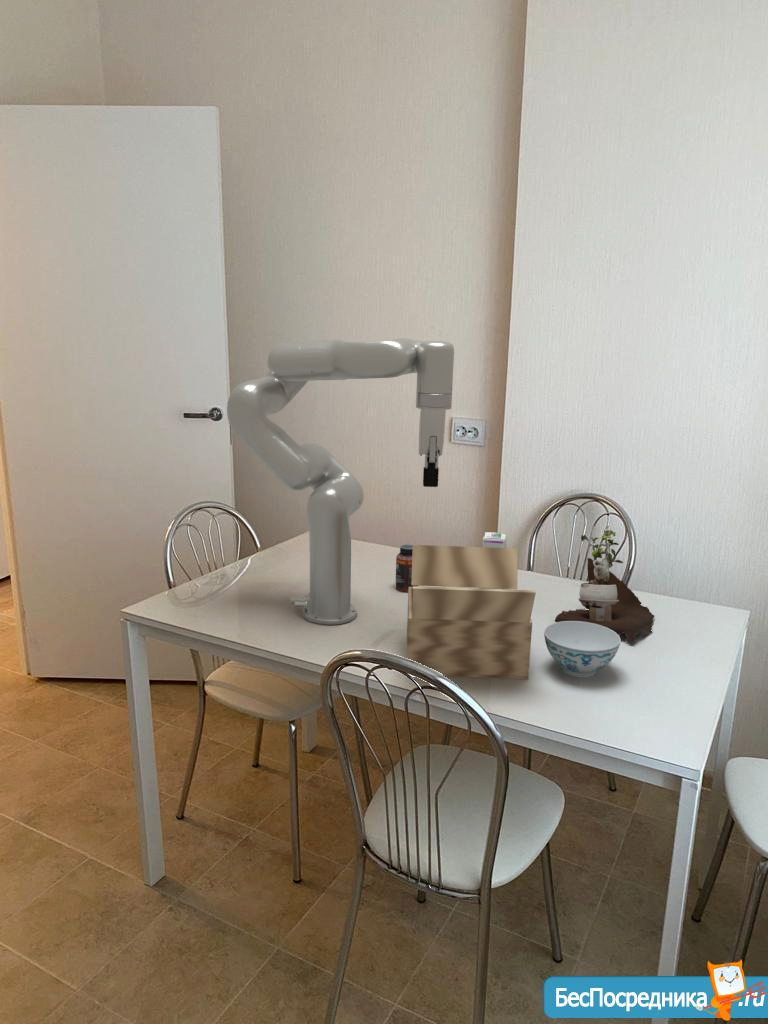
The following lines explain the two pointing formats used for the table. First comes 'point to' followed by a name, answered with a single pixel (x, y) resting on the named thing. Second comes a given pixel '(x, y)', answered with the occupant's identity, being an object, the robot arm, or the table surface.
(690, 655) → the table surface
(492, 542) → the syrup box
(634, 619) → the potted plant
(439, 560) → the back flap
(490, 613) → the front flap
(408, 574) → the supplement bottle
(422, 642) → the carton
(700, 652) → the table surface
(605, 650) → the chinaware
